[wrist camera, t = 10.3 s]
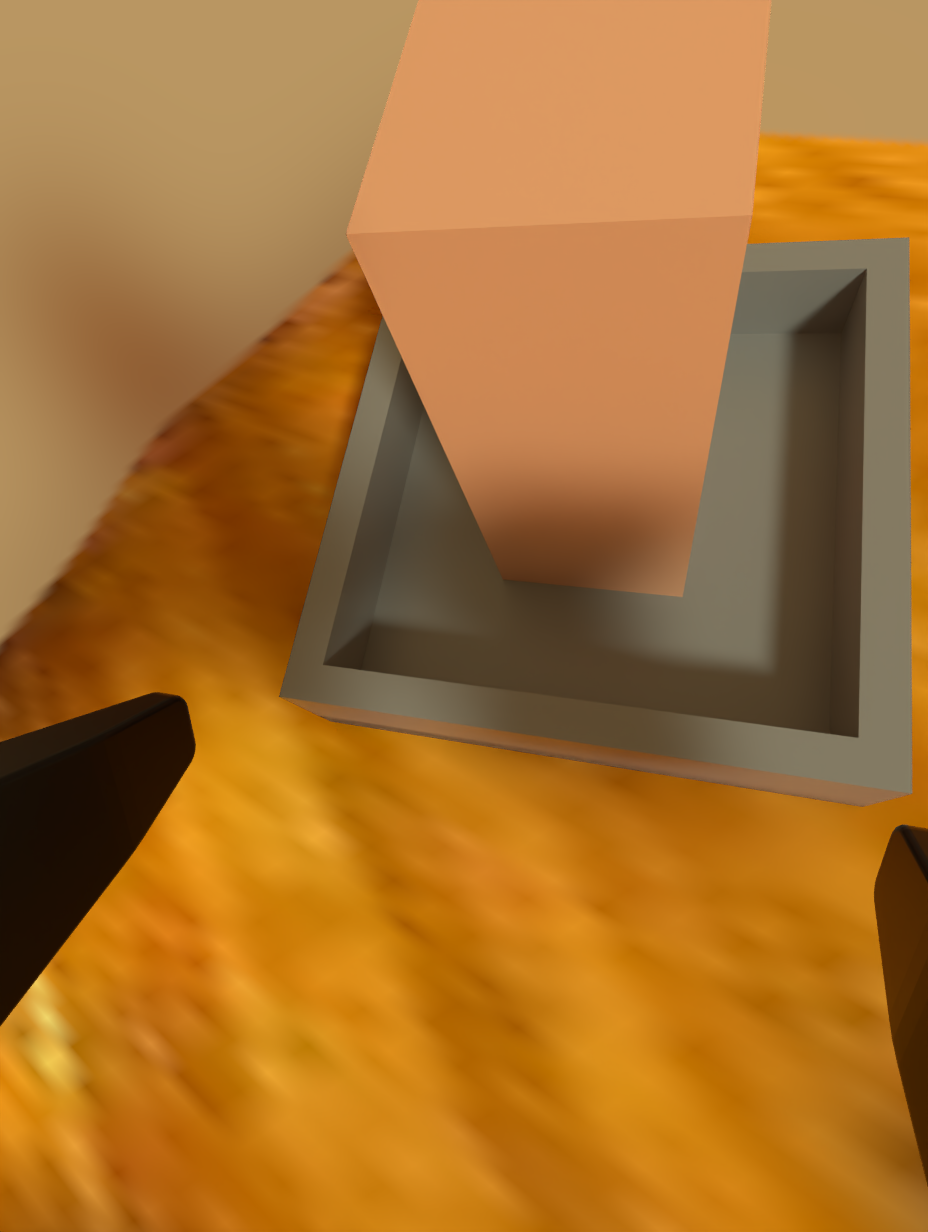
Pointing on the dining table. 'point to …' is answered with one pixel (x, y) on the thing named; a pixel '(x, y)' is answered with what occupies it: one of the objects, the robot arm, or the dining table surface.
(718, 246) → the carton
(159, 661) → the dining table surface
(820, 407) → the tote
